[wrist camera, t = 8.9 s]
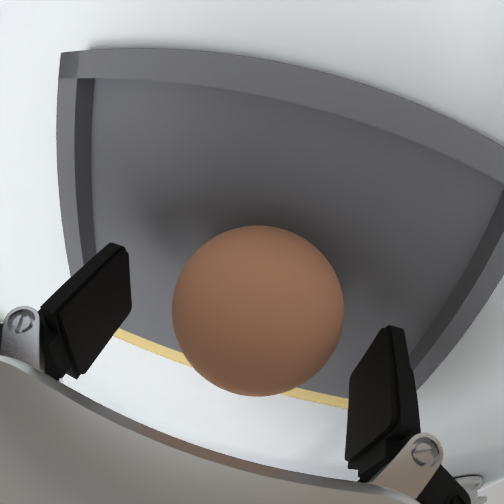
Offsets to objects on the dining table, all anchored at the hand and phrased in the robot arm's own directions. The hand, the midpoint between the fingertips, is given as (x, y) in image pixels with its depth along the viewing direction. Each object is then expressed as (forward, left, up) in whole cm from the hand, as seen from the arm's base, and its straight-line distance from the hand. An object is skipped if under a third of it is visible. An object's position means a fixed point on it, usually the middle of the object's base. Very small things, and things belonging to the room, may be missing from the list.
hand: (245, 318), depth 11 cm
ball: (0, 0, -3) cm, 3 cm away
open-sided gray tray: (0, 0, -4) cm, 4 cm away
